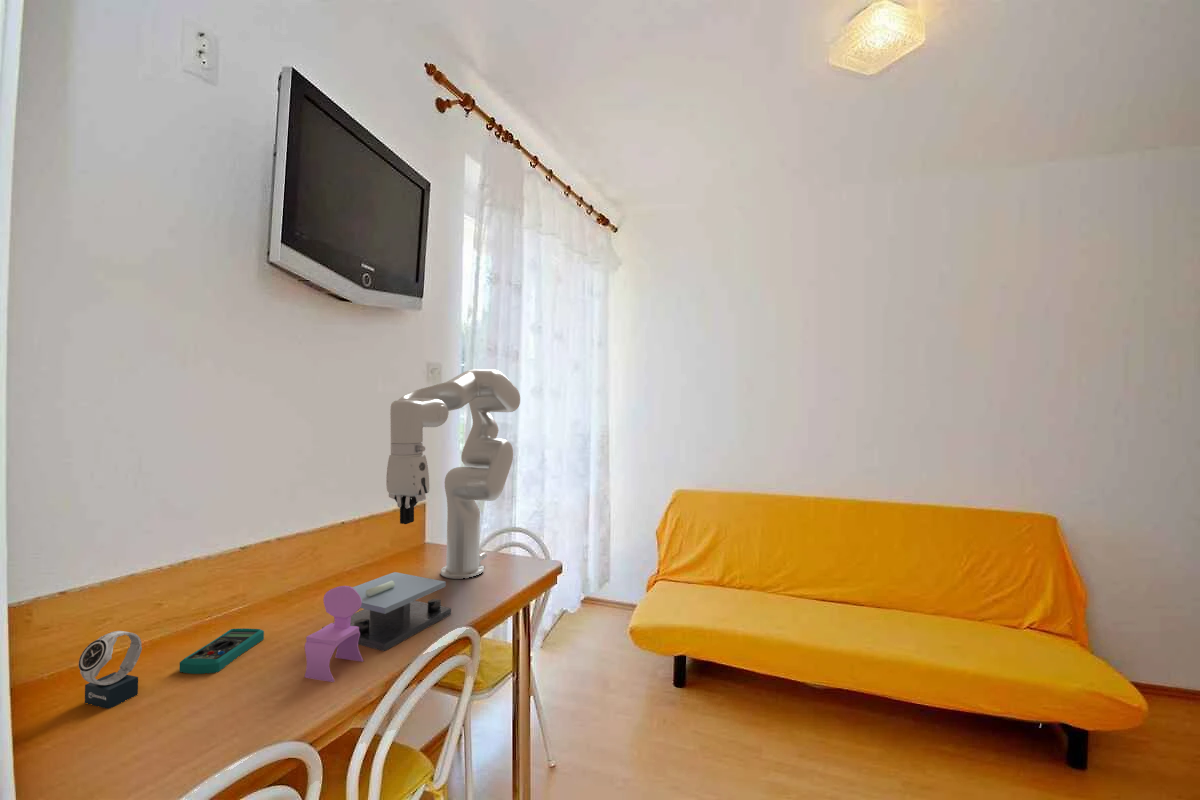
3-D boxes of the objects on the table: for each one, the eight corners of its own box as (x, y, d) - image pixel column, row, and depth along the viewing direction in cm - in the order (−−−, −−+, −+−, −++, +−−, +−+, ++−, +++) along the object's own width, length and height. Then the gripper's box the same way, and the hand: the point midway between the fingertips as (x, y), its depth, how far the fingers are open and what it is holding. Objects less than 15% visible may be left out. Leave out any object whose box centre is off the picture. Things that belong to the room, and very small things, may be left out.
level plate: (394, 576, 133) (394, 565, 133) (445, 586, 127) (445, 574, 127) (329, 601, 116) (330, 587, 116) (385, 613, 110) (385, 599, 110)
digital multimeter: (175, 676, 98) (175, 660, 98) (230, 640, 113) (231, 626, 113) (215, 677, 98) (215, 661, 98) (265, 640, 113) (265, 627, 113)
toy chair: (297, 678, 97) (299, 596, 97) (332, 656, 106) (333, 581, 106) (336, 684, 95) (338, 601, 96) (368, 661, 104) (370, 585, 104)
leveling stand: (393, 601, 135) (394, 576, 135) (451, 614, 128) (451, 587, 128) (321, 634, 115) (322, 604, 115) (384, 651, 108) (385, 619, 108)
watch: (70, 710, 86) (71, 642, 86) (125, 684, 94) (127, 622, 94) (95, 715, 85) (97, 647, 85) (149, 689, 93) (150, 626, 93)
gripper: (441, 449, 132) (441, 522, 133) (394, 446, 138) (394, 516, 138) (420, 453, 125) (420, 530, 126) (372, 449, 131) (372, 523, 131)
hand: (407, 522), depth 132 cm, fingers closed
